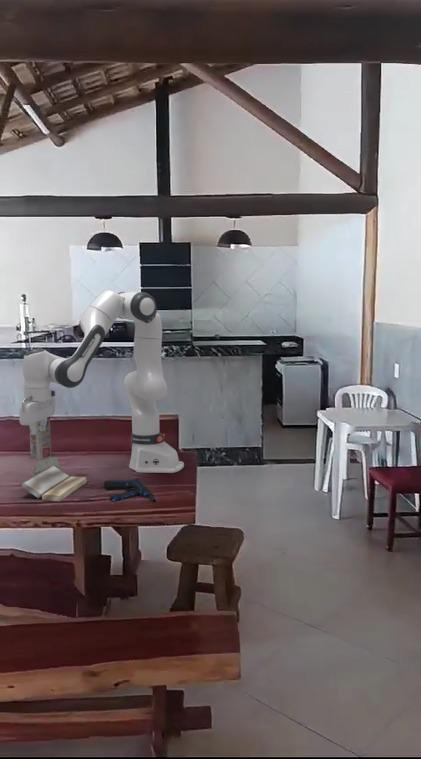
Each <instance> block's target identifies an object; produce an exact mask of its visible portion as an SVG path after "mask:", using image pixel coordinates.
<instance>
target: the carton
mask: <svg viewBox="0 0 421 759" xmlns="http://www.w3.org/2000/svg"><path fill="white" fill-rule="evenodd" d="M40 423H41V421H38V422H36V425H35V426H36V429H38V433H37V434H36V435H32V434H31V429H30V428H29V440H30V442H29V445H30V457H32V458H34V459H35V460H42V459H47V458H49V457H53V456H52V435H51V434H52V433H51V432H52V431H51V430H52V429H51V416H50V417H48V418H47V422H46V426H45V430H44V431H39V426H40Z"/></svg>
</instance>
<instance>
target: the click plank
mask: <svg viewBox="0 0 421 759" xmlns="http://www.w3.org/2000/svg"><path fill="white" fill-rule="evenodd" d="M68 477H69V475H68V474H67V473H65V472H64V471H62V470H59V469H58V468H56V467H55V466H53V465H50V466H49V467H47V468H45V469H43V470H42V471H40V472H38V473H35V474H33V475H31V476H30V477H28V478H26V479H24V480H23V481H22V482H21V484H20V485H19V486H20V487H21V488H22V489H23V490H25V491H26V492H28V493H29V494H31V495H33V496H34V497H36V499H40V498H42V494H43V493H44V492H46V491H48V490H49V489H51V488H52V487H54V486H55V485H57V484H58V483H60V482H61V481H63V480H65V479H66V478H68Z"/></svg>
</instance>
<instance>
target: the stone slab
mask: <svg viewBox="0 0 421 759" xmlns="http://www.w3.org/2000/svg"><path fill="white" fill-rule="evenodd" d="M50 465H53V466H55V467H56V468H58V469H59V470H61V466H60V465H61V464H60V463H59V459H58V458H57V457H54V456H52V457H47V458H43V459H40V460H38V461H37V463H36V465H35V466H34V470H35V471H34V473H35V474H36V473H38V472H40V471H42V470H43V469H45V468H47V467H49V466H50ZM61 471H62V470H61Z"/></svg>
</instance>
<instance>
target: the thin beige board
mask: <svg viewBox="0 0 421 759" xmlns="http://www.w3.org/2000/svg"><path fill="white" fill-rule="evenodd" d="M68 476H69V475H68ZM86 483H87V477H84V476H74V475H73V476H71V475H70V476H69V477H68V478H66V479H65V480H63V481H61V482H60V483H58V484H57V485H55V486H54V487H52V488H51V489H49V490H48V491H46V492H44V493H43V494H42V497H41V500H42V501H51V502H52V501H53V502H61V501H62V500H64V499H65V498H67V497H68V496H69V495H71V494H72V493H73V492H76V491H77V490H78V489H80V488H81V487H82V486H84V485H86Z"/></svg>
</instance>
